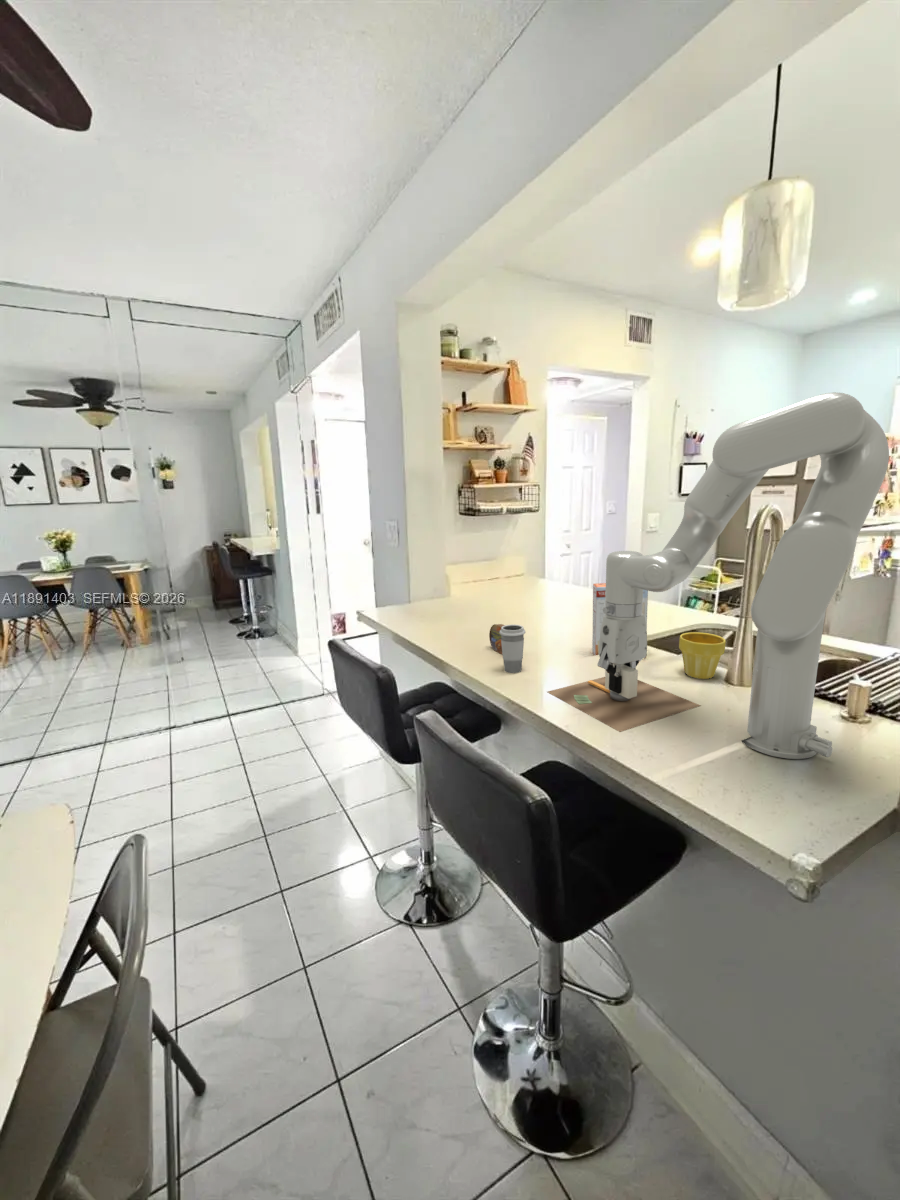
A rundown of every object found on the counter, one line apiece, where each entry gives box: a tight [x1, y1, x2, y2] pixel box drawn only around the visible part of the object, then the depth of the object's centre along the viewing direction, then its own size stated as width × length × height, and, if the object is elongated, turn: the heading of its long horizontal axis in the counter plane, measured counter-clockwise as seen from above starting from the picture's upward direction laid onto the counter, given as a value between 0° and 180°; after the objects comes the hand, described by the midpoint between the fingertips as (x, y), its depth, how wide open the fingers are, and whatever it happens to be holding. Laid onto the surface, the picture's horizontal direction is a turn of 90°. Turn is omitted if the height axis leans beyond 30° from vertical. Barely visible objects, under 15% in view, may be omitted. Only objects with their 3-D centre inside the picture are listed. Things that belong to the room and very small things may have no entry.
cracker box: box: [591, 582, 649, 657], centre depth 142 cm, size 14×6×21 cm, turn 84°
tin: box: [488, 623, 506, 655], centre depth 149 cm, size 15×3×8 cm, turn 25°
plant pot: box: [678, 631, 726, 680], centre depth 126 cm, size 10×10×10 cm
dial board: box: [547, 676, 702, 733], centre depth 112 cm, size 23×23×2 cm
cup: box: [499, 624, 526, 674], centre depth 134 cm, size 7×7×12 cm
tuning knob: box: [587, 664, 639, 701], centre depth 113 cm, size 14×4×7 cm, turn 26°
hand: (620, 689), depth 111 cm, fingers closed on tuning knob, 2 cm apart
